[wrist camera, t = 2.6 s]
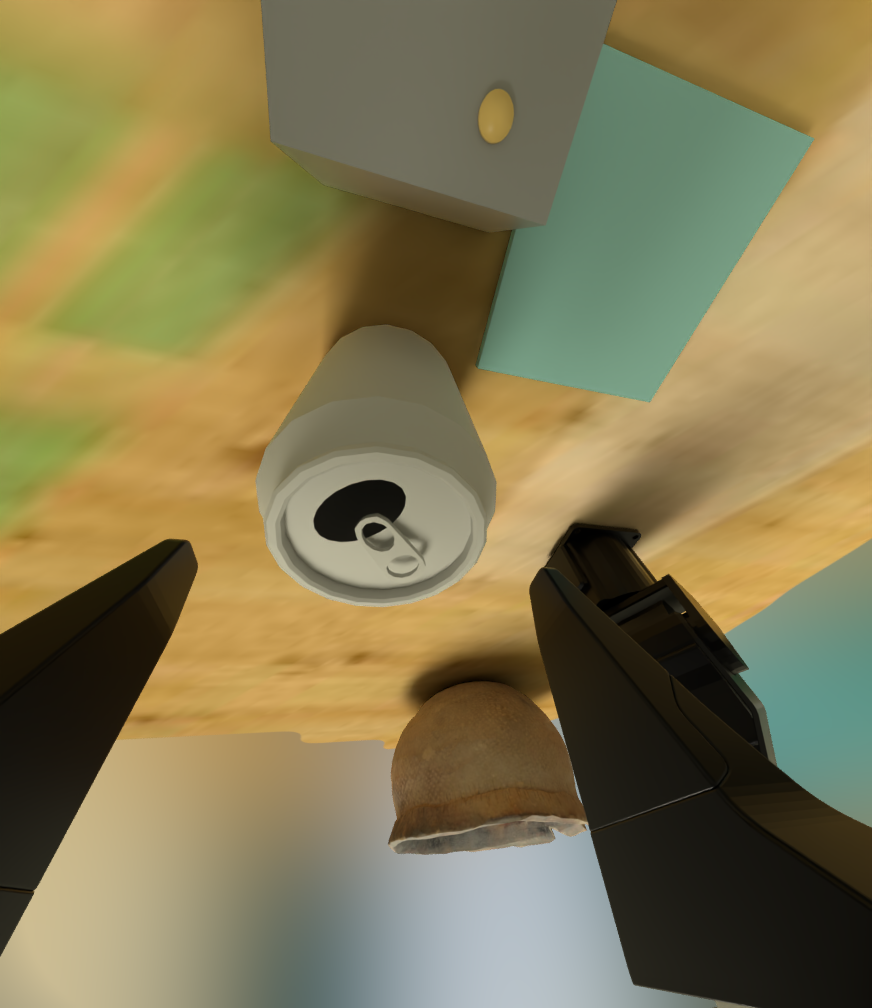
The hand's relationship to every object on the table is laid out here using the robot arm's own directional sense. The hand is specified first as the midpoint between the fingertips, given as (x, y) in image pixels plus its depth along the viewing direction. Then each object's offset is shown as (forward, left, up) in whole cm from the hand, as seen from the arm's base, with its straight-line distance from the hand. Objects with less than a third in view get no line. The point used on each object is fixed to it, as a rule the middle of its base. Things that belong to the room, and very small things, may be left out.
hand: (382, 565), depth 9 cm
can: (0, 0, -13) cm, 13 cm away
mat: (-10, -8, -13) cm, 18 cm away
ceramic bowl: (-16, +41, -13) cm, 46 cm away
